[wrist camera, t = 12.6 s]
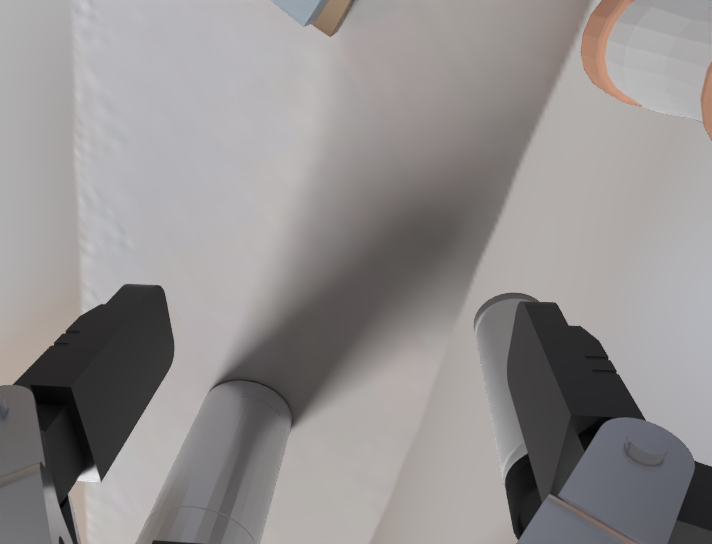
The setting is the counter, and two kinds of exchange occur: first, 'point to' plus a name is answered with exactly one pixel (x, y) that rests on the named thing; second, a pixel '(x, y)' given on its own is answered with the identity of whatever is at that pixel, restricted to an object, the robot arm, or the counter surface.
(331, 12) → the walnut base block
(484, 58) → the counter surface
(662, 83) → the salt shaker
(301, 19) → the slate top block
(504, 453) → the travel mug
